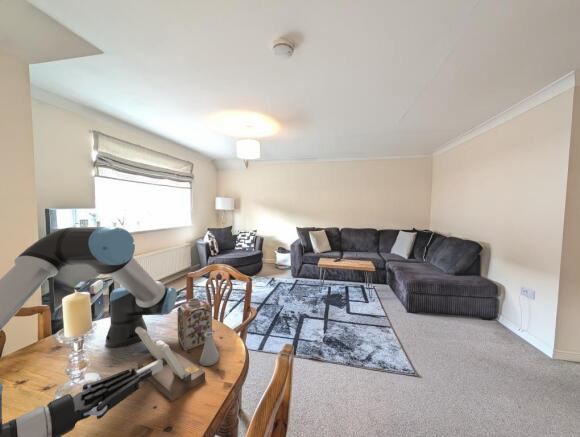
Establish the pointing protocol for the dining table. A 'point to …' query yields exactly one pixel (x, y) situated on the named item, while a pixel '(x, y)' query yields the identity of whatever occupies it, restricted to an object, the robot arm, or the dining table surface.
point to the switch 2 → (170, 358)
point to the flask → (209, 351)
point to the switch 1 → (148, 343)
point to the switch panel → (174, 376)
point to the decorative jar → (194, 323)
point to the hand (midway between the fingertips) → (161, 364)
